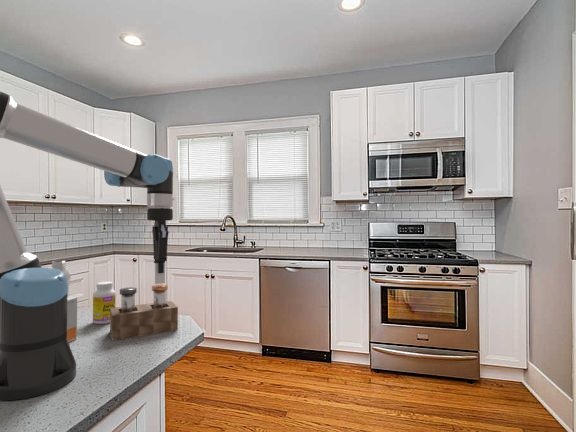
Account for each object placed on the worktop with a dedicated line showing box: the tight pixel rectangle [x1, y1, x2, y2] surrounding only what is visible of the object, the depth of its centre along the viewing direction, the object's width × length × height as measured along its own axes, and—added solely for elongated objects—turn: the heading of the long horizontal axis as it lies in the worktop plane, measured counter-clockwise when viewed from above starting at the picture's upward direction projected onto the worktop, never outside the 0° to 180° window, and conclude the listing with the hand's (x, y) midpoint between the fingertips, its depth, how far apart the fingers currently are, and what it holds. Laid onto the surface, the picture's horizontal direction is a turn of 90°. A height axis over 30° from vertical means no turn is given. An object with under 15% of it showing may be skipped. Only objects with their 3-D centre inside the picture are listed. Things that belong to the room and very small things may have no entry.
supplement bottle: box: [92, 281, 117, 325], centre depth 114 cm, size 7×7×13 cm
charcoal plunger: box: [119, 287, 138, 313], centre depth 103 cm, size 5×5×9 cm
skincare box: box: [67, 296, 78, 343], centre depth 96 cm, size 6×4×12 cm
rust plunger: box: [151, 284, 169, 309], centre depth 108 cm, size 5×5×9 cm
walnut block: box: [109, 300, 179, 341], centre depth 106 cm, size 18×9×7 cm, turn 121°
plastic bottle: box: [51, 259, 71, 297], centre depth 113 cm, size 6×7×20 cm
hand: (159, 283), depth 108 cm, fingers closed
